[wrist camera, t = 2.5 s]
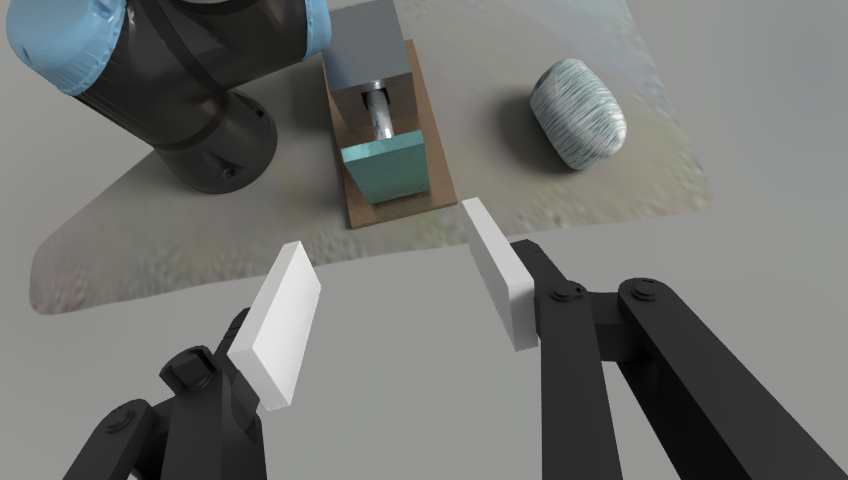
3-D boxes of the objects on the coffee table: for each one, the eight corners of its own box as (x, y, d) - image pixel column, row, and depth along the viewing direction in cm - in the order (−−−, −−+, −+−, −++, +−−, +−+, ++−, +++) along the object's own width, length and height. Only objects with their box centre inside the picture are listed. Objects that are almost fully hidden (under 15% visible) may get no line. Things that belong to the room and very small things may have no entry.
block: (430, 189, 43) (424, 142, 33) (369, 204, 43) (343, 162, 33) (406, 96, 47) (394, 27, 37) (350, 110, 47) (322, 45, 37)
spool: (504, 87, 45) (566, 35, 36) (553, 86, 50) (618, 39, 41) (535, 185, 45) (605, 156, 36) (581, 175, 49) (653, 147, 40)
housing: (457, 204, 45) (458, 172, 36) (353, 229, 45) (330, 204, 36) (412, 44, 52) (405, -14, 43) (324, 66, 52) (299, 13, 44)
